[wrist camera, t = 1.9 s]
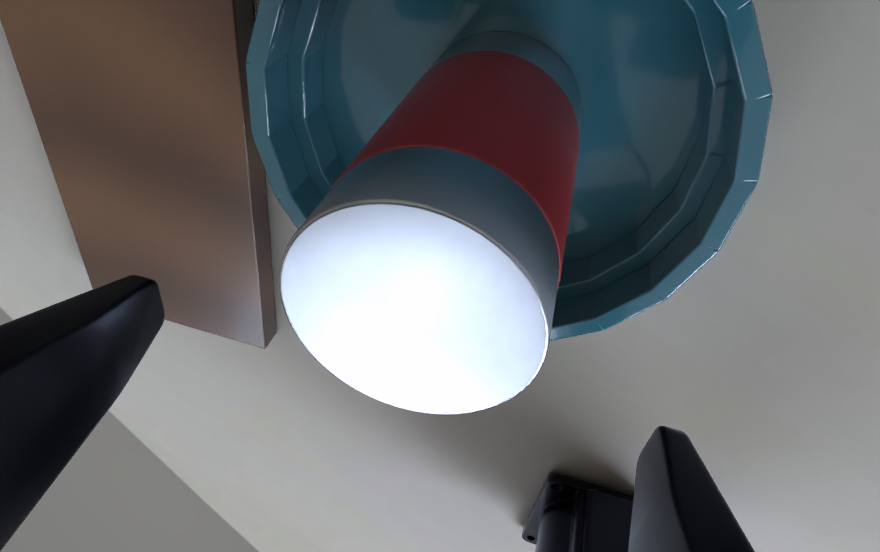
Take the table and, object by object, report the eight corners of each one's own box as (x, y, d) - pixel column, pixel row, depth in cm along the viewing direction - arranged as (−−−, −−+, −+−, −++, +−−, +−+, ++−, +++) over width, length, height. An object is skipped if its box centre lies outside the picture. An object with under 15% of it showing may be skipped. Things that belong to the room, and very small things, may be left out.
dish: (641, 326, 22) (643, 387, 20) (300, 234, 24) (263, 281, 21) (860, -108, 13) (914, -93, 11) (287, -209, 15) (220, -217, 12)
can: (558, 205, 20) (515, 445, 12) (412, 169, 20) (282, 375, 13) (606, 51, 16) (590, 246, 9) (429, 12, 17) (268, 164, 9)
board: (277, 332, 28) (265, 349, 27) (112, 285, 29) (95, 299, 28) (249, -61, 17) (227, -55, 16) (-13, -116, 18) (-47, -113, 17)
